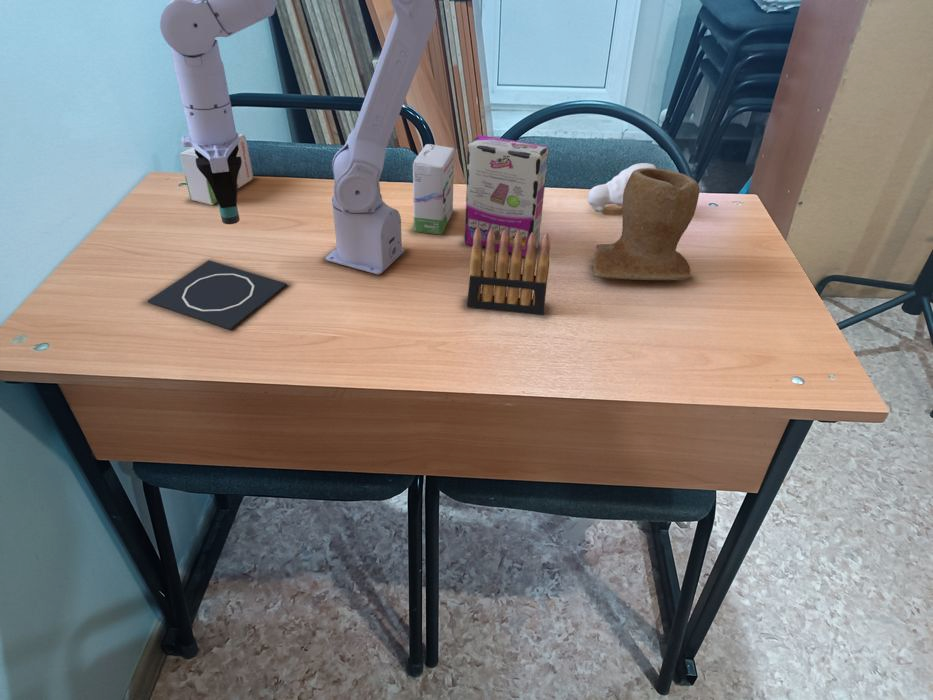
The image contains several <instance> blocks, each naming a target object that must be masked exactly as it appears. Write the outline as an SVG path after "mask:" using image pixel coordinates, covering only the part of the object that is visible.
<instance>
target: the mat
mask: <svg viewBox="0 0 933 700" xmlns="http://www.w3.org/2000/svg"><path fill="white" fill-rule="evenodd" d="M287 286H288V284H287V283H286V282H283V281H281V280H276V279H272V278H269V277H266V276H264V275H263V276H262V275H260V274H256V273H253V272H249V271H247V270H243V269H239V268H236V267H233V266H229V265H226V264H222V263H220V262H216V261H212V260H207V261H206V262H204V263H202V264H201V265H199V266H198V267H196V268H195V269H193V270H191V271H190V272H189V273H187V274H186V275H184V276H183V277H181V278H179V279H178V280H177V281H175V282H174V283H172V284H170V285H169V286H168V287H166V288H164V289H163V290H161V291H160V292H158V293H157V294H155V295H154V296H152V297H151V298H150V299H148V300H147V303H148V304H151V305H154V306H157V307H160V308H163V309H167V310H169V311H172V312H174V313H175V312H176V313H178V314H181V315H184V316H187V317H190V318H192V319H195V320H199V321H202V322H204V323H208V324H211V325H214V326H216V327H219V328H223V329H226V330H229V331H232V330H234V329H235V328H236V326H238V325H239V324H240V323H242V322H243V321H244V320H245V319H247V318H248V317H249V316H251V315H252V314H253V313H254V312H256V311H257V310H258V309H259V308H261V307H262V306H263V305H264V304H266V303H267V302H269V300H271V299H272V298H273V297H274V296H275V295H277V294H278V293H279V292H280V291H281V290H283V289H284V288H285V287H287Z"/></svg>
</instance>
